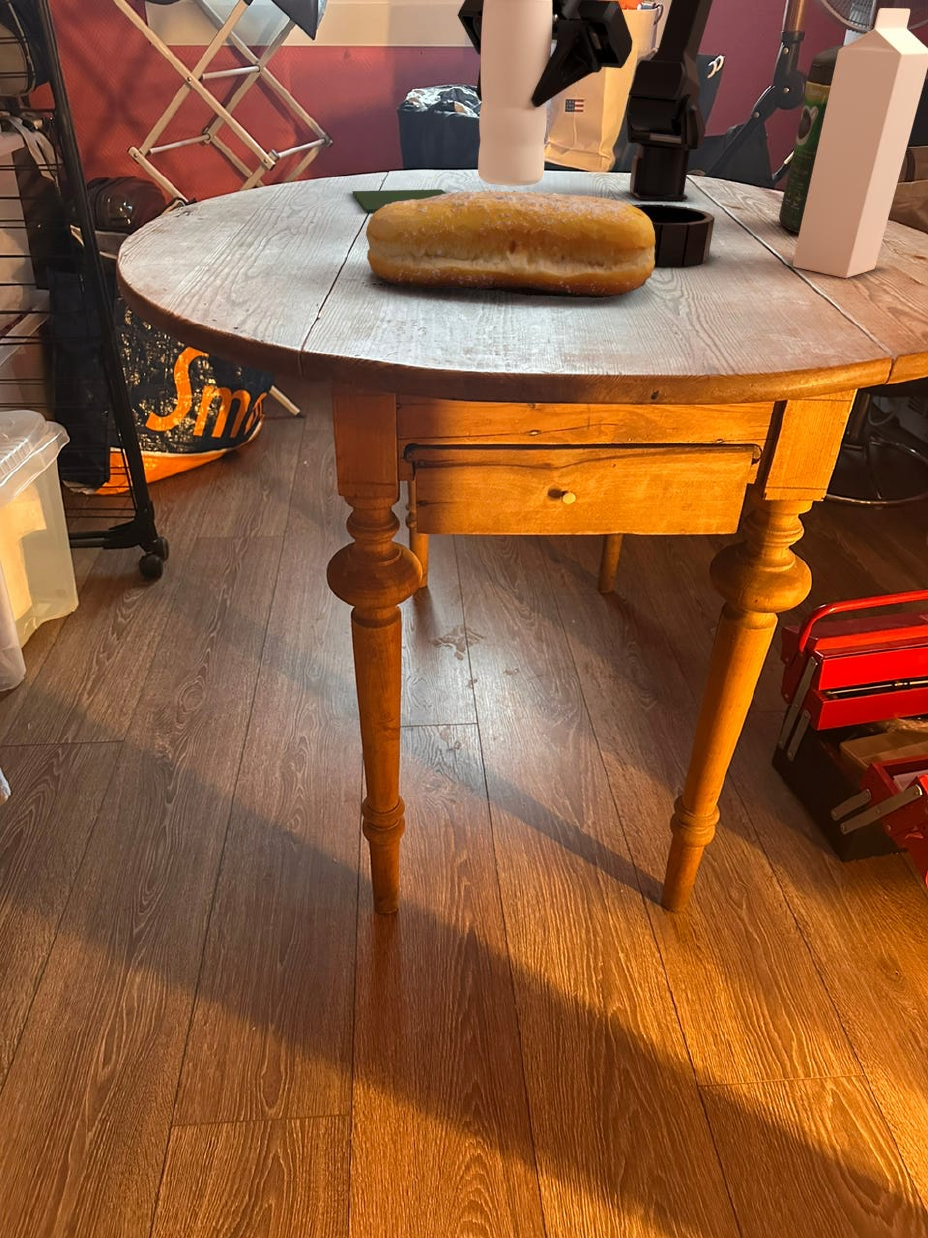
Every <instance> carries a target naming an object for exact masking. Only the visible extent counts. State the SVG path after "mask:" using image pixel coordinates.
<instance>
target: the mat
mask: <svg viewBox="0 0 928 1238" xmlns="http://www.w3.org/2000/svg"><path fill="white" fill-rule="evenodd" d="M442 194H448V193H447V192H446V191H445V190H443V189H441V188H440V189H439V188H437V189H396V190H395V189H389V190H352V195H353V197H354V198H355V199H356V201H357V202H358V204H359V205H360V206H361V208H362V209H363V210H364V212H365V213H366V214H370V213H372V214H374V213H375V212H376V211H377V210H379V209H380V208H382V207H383V206H385V205H386V204H391V203H392V202H397V201H406V200H411V199H413V200H419V199H425V198H430V197H433V196H439V195H442Z"/></svg>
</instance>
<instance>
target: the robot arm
mask: <svg viewBox="0 0 928 1238" xmlns="http://www.w3.org/2000/svg"><path fill="white" fill-rule="evenodd" d="M713 2H714V0H671V1H670V5H669V9H668V11H667V16H666V20H665V24H664V26H663V31H662V34H661V37H660V41H659V44H658V48H657V50H656V52H655V53H654V54H653V55H652V57H650V59H641V60H640V61H639V63H637V65H636V68H635V73H634V77H633V81H632V85H631V88H630V90H629V92H628V99H627V102H626V108H625V109H626V110H625V113H626V128H627V129H626V130H627V131H626V132H627V143H628V144H631V145H633V144H636V145H637V144H638V146H637V155H634V156H633V157H632V163H631V170H630V179H629V192H630V193H631V194H632V195H634V197H636V198H637V199H639V200H655V201H658V200H660V201H662V200H664V201H687V200H688V195H687V194H686V193H685V188H686V181H687V175H688V167H689V162H690V155H691V150H699V149H700V148H702V146H703V145H702V144H703V142H704V139H705V135H706V131H707V128H706V125H705V121H704V117H703V114H702V110H701V107H700V104H699V98H700V95H701V94H700V93H701V88H702V87H701V83H700V79H699V74H698V69H697V65H696V62H697V57H698V54H699V50H700V47H701V43H702V40H703V37H704V32H705V30H706V26H707V22H708V19H709V16H710V12H711V8H712V5H713ZM483 5H484V0H464V1H463V3H462V4H461V7H460V8H459V10H458V12H457V17H458V20H459V21H460V23H461V25H462V27H463V29H464V31H465V32H466V34H467V36H468V39H469V40H470V42H471V44H472V46H473V48H474V50H475V51H476V54H478V55H479V56H480V57H481V34H482V16H483ZM633 42H634V41H633V38H632V35H631V32H630V29H629V26H628V23H627V20H626V17H625V15H624V12H623V9H622V7H621V3H620V2H619V0H552V42H551V45H552V44H553V45H555V47H554V50H553V51H552V52H551V57H550V59H549V61H548V63H547V65H546V67H545V69H544V72H543V74H542V76H541V78H540V80H539V82H538V84H537V86H536V88H535V91H534V93H533V96H532V103H533V105H534V107H539V106H541V105H542V104H544V103H545V102H546V103H547V102H548V101H550V100H552V99H553V98H554V97H556V96H557V95H559V94H560V93H561V92H563V91H564V90H566V89H568V88H569V87H570V86H572V85H575V84H576V83H577V82H579V81H581V80H582V79H584V78H586V77H588V76H589V75H591V74H593V73H594V74H595V73H596V74H598V73H600V72H601V70H602V68H608V69H609V68H611V69H622V68H623V67H624V66H625V64H626V62H627V61H628V59H629V57H630V55H631V53H632V51H633ZM475 95H476V97H477V99H478V101H479V102H482V95H481V62H480V63H479V69H478V77H477V84H476V92H475ZM653 134H655V135H653ZM660 135H661V136H660ZM662 135H663V136H662ZM669 136H672V137H669ZM679 137H680V138H679Z"/></svg>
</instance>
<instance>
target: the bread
mask: <svg viewBox="0 0 928 1238" xmlns="http://www.w3.org/2000/svg"><path fill="white" fill-rule="evenodd" d="M632 205H633V204H630V203H628V202H625V201H621V200H615V199H609V198H604V197H600V196H599V197H598V196H588V195H572V194H559V193H557V192H551V193H540V192H535V191H527V192H525V191H523V192H522V191H517V190H514V191H508V190H507V191H499V190H492V189H488V190H485V189H482V190H480V191H468V189H466V190H460V191H457V192H451V191H449V192H448V193H447V194H442V195H439V196H433V197H430V198H425V199H419V200H413V199H411V200H406V201H397V202H392V203H391V204H386V205H385V206H383V207H382V208H380V209H379V210H377V211H376V212H375V213H372V215H371V216H370V218H369V220H368V224H367V226H366V231H365V237H366V240H367V244H368V247H369V248H368V250H367V252H366V253H367V254H366V259H367V262H368V264H369V267H370V269H371V270H372V272H373V273H374V274H375V275H376V276H377V277H378V278H380V279H381V280H383V281H385V282H387V283H390V284H393V285H396V286H397V285H398V286H406V287H414V288H421V289H422V288H423V289H442V288H443V289H444V288H447V289H448V288H451V289H452V288H453V289H466V290H476V291H477V290H478V291H479V290H480V291H493V292H501V293H506V294H507V293H508V294H515V295H520V296H529V297H531V296H532V297H555V298H556V297H557V298H583V299H584V298H586V299H587V298H588V299H604V298H613V297H617V296H621V295H625V294H627V293H629V292H633V291H635V290H638V289H639V288H641V287H643V286H645V284H646V282H647V280H649V279H650V278H651V277H652V273H653V271H654V268H655V267H654V265H655V260H654V253H655V250H654V245H655V231H654V228H653V225H652V221H651V220H650V218H649V217H648V216H647V215H646V214H645V213H644V212H642V211H641V210H640V209H638V208H636V207H634V206H632Z"/></svg>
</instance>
